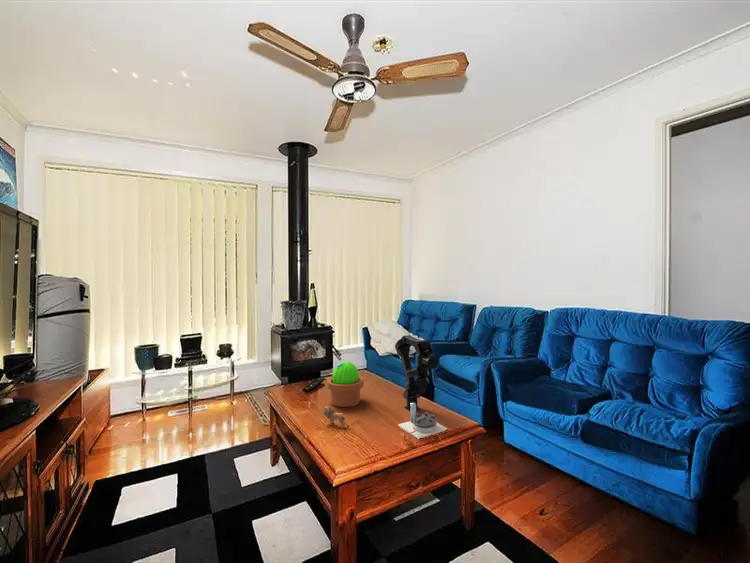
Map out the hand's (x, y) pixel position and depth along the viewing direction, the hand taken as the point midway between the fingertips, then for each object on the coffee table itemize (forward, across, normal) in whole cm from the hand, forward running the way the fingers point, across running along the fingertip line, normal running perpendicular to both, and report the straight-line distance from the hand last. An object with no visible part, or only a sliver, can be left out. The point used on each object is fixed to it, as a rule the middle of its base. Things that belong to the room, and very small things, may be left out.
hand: (422, 393), depth 189 cm
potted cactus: (+13, -16, -47) cm, 51 cm away
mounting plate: (+13, +14, 0) cm, 19 cm away
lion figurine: (+13, +17, -44) cm, 49 cm away
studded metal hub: (+10, +16, 0) cm, 19 cm away
